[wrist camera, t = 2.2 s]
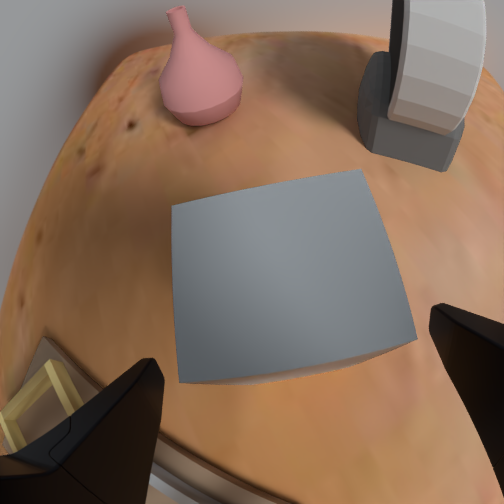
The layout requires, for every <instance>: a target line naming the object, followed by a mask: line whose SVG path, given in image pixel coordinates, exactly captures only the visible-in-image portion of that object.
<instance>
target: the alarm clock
mask: <svg viewBox="0 0 504 504" xmlns="http://www.w3.org/2000/svg"><path fill="white" fill-rule="evenodd" d="M485 45H486V10H485V4H484V0H392V15H391V29H390V42H389V52H385V51H380V52H375V53H374V54H373V55H372V57H371V59H370V61H369V63H368V64H367V66H366V70H365V73H364V76H363V79H362V82H361V85H360V88H359V96H358V107H357V121H358V126H359V130H360V136H361V138H362V140H363V142H364V145H365V147H366V149H367V150H369V151H370V152H371V153H375V154H379V155H383V156H387V157H391V158H394V159H398V160H402V161H405V162H409V163H412V164H416V165H419V166H423V167H426V168H429V169H433V170H436V171H439V172H444V171H447V169H448V167H449V165H450V164H451V162H452V159H453V157H454V155H455V152H456V150H457V147H458V145H459V142H460V139H461V137H462V133H463V130H464V117H465V115H466V113H467V111H468V109H469V106H470V104H471V102H472V100H473V98H474V95H475V92H476V89H477V85H478V82H479V79H480V75H481V71H482V67H483V60H484V53H485Z"/></svg>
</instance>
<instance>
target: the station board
mask: <svg viewBox="0 0 504 504" xmlns="http://www.w3.org/2000/svg"><path fill="white" fill-rule="evenodd" d="M102 390H103V389H102V388H101V387H100V386H99V385H98V384H97V383H96V382H95V381H93V380H92V379H91V378H90V377H89V376H88V375H87V374H86V373H85V372H84V371H83V370H81V369H80V368H79V367H78V366H77V365H76V364H75V363H74V362H73V361H72V360H71V359H70V358H69V357H68V356H67V355H66V354H65V353H64V352H63V351H62V350H61V349H60V348H59V347H58V346H57V345H56V344H55V342H54V341H53V340H52V339H50V338H47V337H44V336H43V337H42V339H41V342H40V344H39V346H38V348H37V350H36V353H35V355H34V357H33V360H32V362H31V364H30V367H29V369H28V372H27V374H26V376H25V379H24V382H23V384H22V387H21V389H20V391H19V392H18V393H17V394H16V395H15V396H14V397H13V398H12V399H11V400H10V402H9V403H8V404H7V405H6V406H5V407H4V408H3V409H2V411H1V412H0V423H1V426H2V428H3V431H4V433H5V437H4V441H3V444H2V445H3V446H4V448H5V449H6V450H7V452H8V453H9V454H12V453H15V452H17V451H19V450H20V449H22V448H23V447H25V446H26V445H28V444H30V443H31V442H33V441H34V440H36V439H37V438H39V437H41V436H42V435H44V434H45V433H47V432H48V431H50V430H51V429H53V428H54V427H55V426H57V425H58V424H59V423H61V422H62V421H63V420H65V419H66V418H67V417H68V416H71V414H72V413H74V412H75V411H76V410H78V409H79V408H80V407H81V406H83V405H84V404H85V403H86V402H88V401H89V400H90V399H92V398H93V397H94V396H95V395H97V394H98V393H99V392H100V391H102ZM146 504H291V503H289V502H286V501H284V500H281V499H279V498H276V497H274V496H272V495H269V494H267V493H265V492H263V491H260V490H258V489H256V488H254V487H252V486H250V485H248V484H246V483H244V482H241V481H239V480H238V479H236V478H234V477H232V476H230V475H228V474H226V473H224V472H222V471H220V470H219V469H217V468H215V467H213V466H211V465H210V464H208V463H206V462H204V461H203V460H201V459H199V458H198V457H196V456H194V455H193V454H191V453H189V452H188V451H186V450H185V449H183V448H181V447H180V446H178V445H177V444H175V443H174V442H172V441H171V440H169V439H168V438H166V437H165V436H163V435H162V434H160V433H158V438H157V443H156V448H155V453H154V458H153V464H152V469H151V475H150V480H149V486H148V492H147V498H146Z"/></svg>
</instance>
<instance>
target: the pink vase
mask: <svg viewBox="0 0 504 504" xmlns="http://www.w3.org/2000/svg"><path fill="white" fill-rule="evenodd" d="M166 14H167V16H168V19H169V22H170V24H171V27H172V29H173V32H174V38H173V43H172V48H171V54H170V58H169V60H168V62H167V64H166V66H165V68H164V70H163V72H162V74H161V76H160V78H159V84H160V89H161V93H162V98H163V103H164V106H165V107H166V108H167V109H168V110H169V111H170V112H171V113H172V114H173V115H174V116H175V117H176V118H177V119H179V120H180V121H181V122H182V123H183V124H187V125H191V126H200V125H207V124H211V123H215V122H217V121H219V120H222V119H224V118H226V117H227V116H229V115H230V114H231V113H233V112H234V111H235V110H236V109H237V107H238V106H239V104H240V101H241V93H242V85H243V75H242V73H241V71H240V69H239V67H238V65H237V63H236V61H235V59H234V58H233V56H232V55H231V54H230V53H228V52H226V51H224V50H222V49H220V48H217V47H215V46H213V45H211V44H209V43H208V42H207V41H206V40H205V39H203V38H202V37H201V36H200V35H199V34H198V33H197V32H195V31H194V30H193V29H192V27H191V24H190V21H189V18H188V15H187V11H186V8H185V6H178V7H175V8H172V9H170V10H168V11H167V12H166Z"/></svg>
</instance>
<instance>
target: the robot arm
mask: <svg viewBox="0 0 504 504" xmlns="http://www.w3.org/2000/svg"><path fill="white" fill-rule="evenodd" d="M429 332H430V335H431V337H432V339H433V342H434V344H435V346H436V349H437V351H438V353H439V355H440V358H441V360H442V363H443V365H444V367H445V369H446V371H447V373H448V375H449V377H450V379H451V380H452V382H453V384H454V386H455V388H456V390H457V392H458V394H459V395H460V397H461V399H462V401H463V403H464V405H465V407H466V409H467V411H468V413H469V415H470V417H471V419H472V421H473V424H474V426H475V428H476V430H477V432H478V434H479V436H480V439H481V441H482V443H483V445H484V448H485V450H486V452H487V455H488V457H489V459H490V462H491V464H492V467H494V468H493V470H494V472H495V475H496V477H497V480H498V483H499V485H500V488H501V491H502V494H503V496H504V324H502V323H500V322H497V321H494V320H491V319H488V318H485V317H482V316H480V315H477V314H474V313H471V312H468V311H465V310H462V309H459V308H457V307H454V306H451V305H448V304H445V303H440V304H437V305H434V306H432V308H431V312H430V321H429ZM164 384H165V380H164V376H163V374H162V372H161V370H160V368H159V366H158V364H157V362H156V360H155V359H154V358H143V359H141V360H140V361H138V362H137V363H136V364H135V365H133V366H132V367H131V368H130V369H128V370H127V371H126V372H125V373H123V374H122V375H121V376H119V377H118V378H117V379H116V380H114V381H113V382H112V383H111V384H109V385H108V386H107V387H106V388H104V389H103V390H102V391H100V392H99V393H98V394H97V395H95V396H94V397H93V398H92V399H90V400H89V401H88V402H86V403H85V404H84V405H83V406H81V407H80V408H79V409H78V410H76V411H75V412H74V413H72V414H71V416H68V417H67V418H66V419H65V420H63V421H62V422H61V423H59V424H58V425H57V426H55V427H54V428H53V429H51V430H50V431H48V432H47V433H45V434H44V435H42V436H41V437H39V438H37V439H36V440H34V441H33V442H31V443H30V444H28V445H26V446H25V447H23V448H22V449H20V450H19V451H17V452H15V453H12V454H9V455H3V456H0V504H146V498H147V492H148V486H149V480H150V475H151V469H152V464H153V458H154V453H155V448H156V443H157V438H158V433H159V428H160V423H161V415H162V404H163V394H164Z"/></svg>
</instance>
